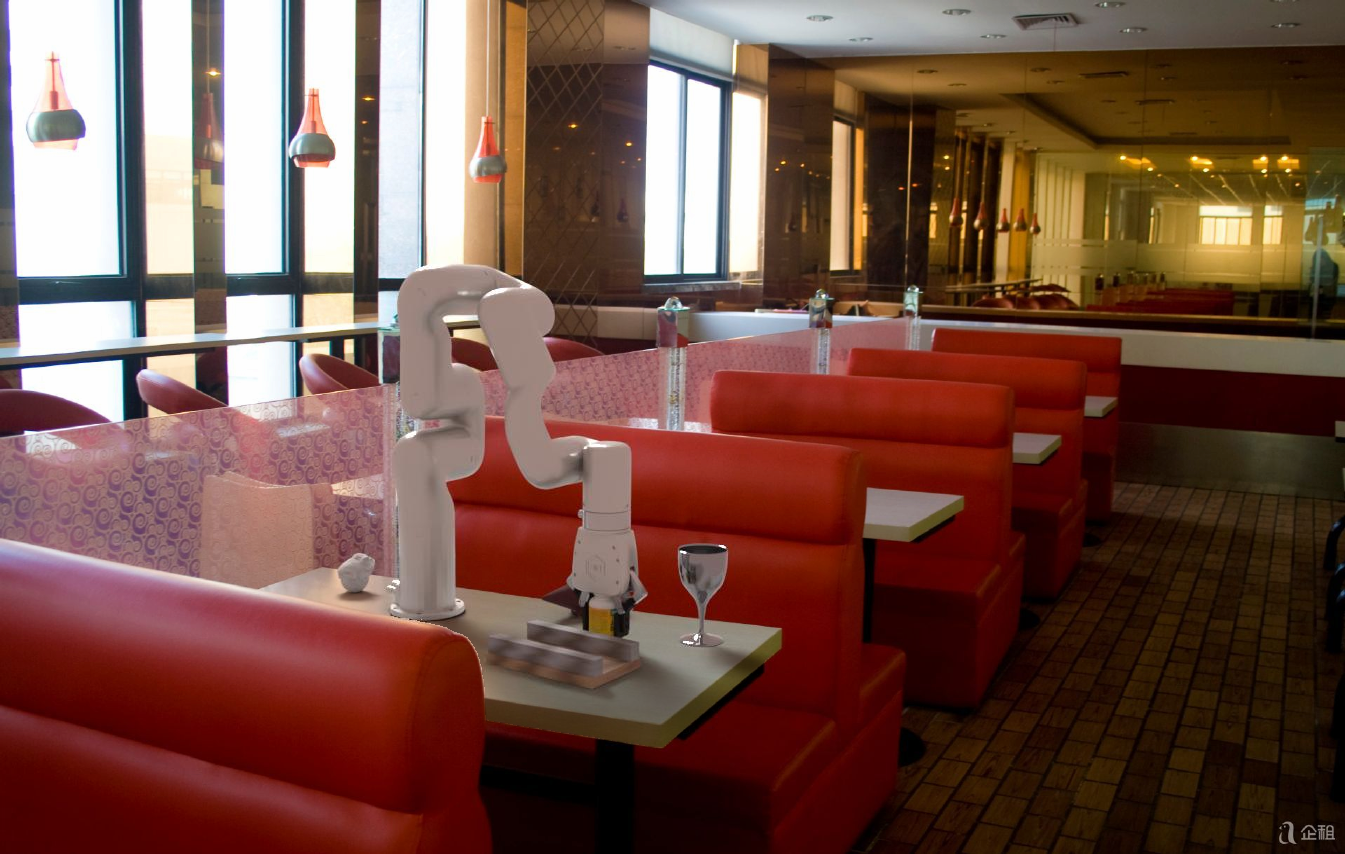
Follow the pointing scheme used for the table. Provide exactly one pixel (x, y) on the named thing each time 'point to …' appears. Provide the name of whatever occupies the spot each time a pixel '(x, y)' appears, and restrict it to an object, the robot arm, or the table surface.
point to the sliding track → (565, 654)
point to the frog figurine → (356, 572)
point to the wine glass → (702, 583)
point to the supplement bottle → (602, 614)
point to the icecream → (564, 599)
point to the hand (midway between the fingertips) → (605, 632)
